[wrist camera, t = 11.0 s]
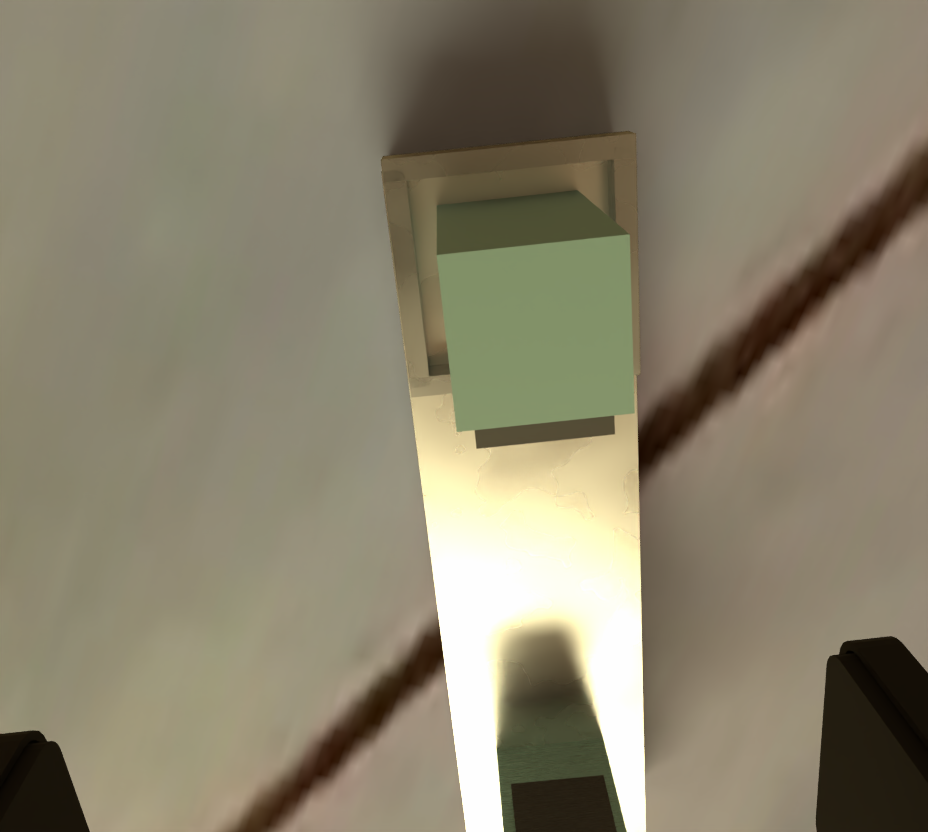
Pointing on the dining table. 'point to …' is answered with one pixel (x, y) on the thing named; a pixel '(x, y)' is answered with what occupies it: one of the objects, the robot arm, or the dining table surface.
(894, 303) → the dining table surface
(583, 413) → the pale green gift box
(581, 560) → the rail
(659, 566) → the dining table surface
